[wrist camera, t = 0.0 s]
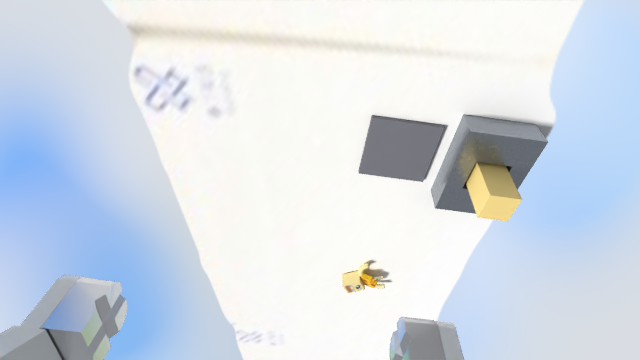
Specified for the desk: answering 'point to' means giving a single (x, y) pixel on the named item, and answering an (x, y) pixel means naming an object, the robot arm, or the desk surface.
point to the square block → (492, 191)
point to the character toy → (360, 280)
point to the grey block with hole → (485, 157)
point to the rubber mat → (399, 148)
